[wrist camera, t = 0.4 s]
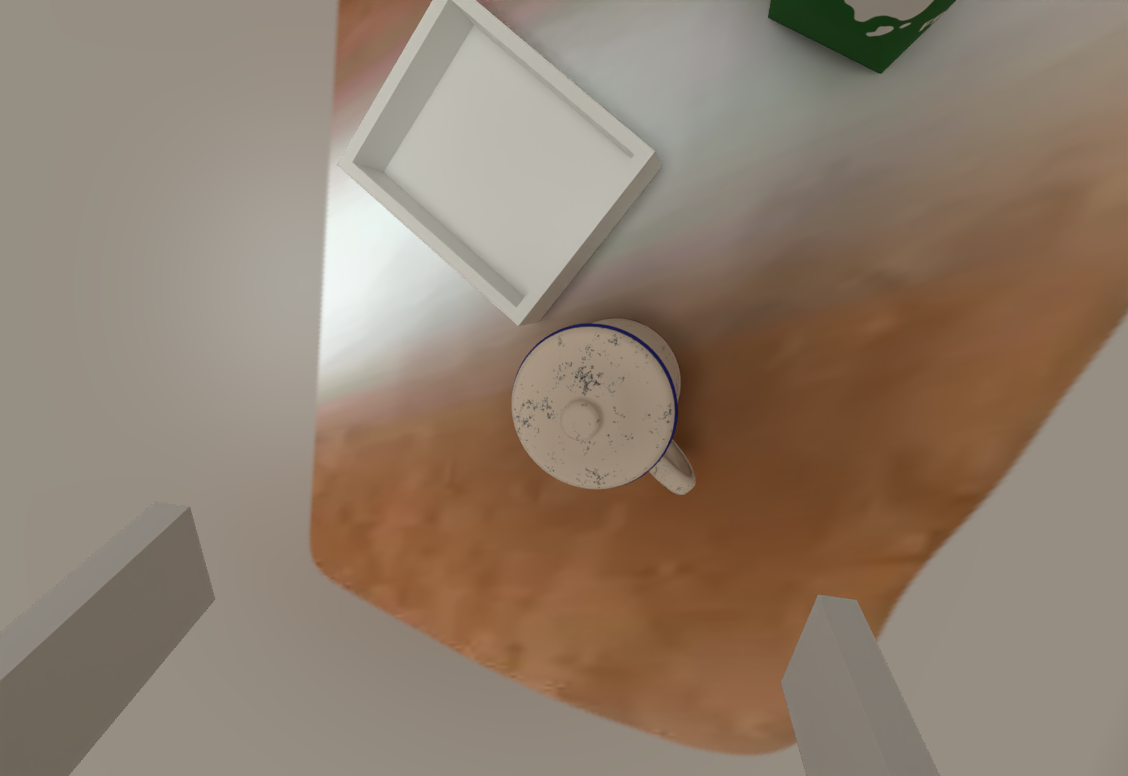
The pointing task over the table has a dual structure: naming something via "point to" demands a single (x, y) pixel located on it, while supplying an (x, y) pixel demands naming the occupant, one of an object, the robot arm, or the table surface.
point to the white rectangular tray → (496, 159)
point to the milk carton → (861, 25)
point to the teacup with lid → (602, 406)
